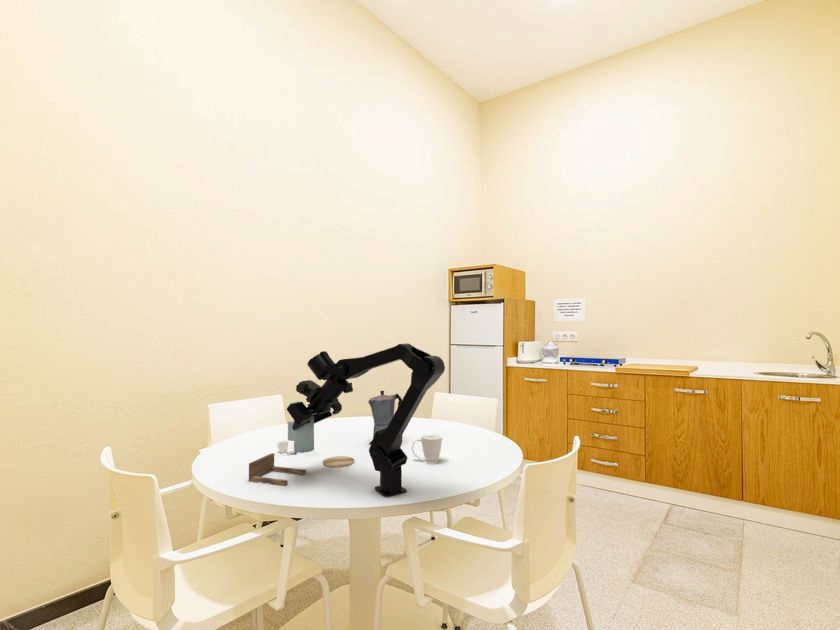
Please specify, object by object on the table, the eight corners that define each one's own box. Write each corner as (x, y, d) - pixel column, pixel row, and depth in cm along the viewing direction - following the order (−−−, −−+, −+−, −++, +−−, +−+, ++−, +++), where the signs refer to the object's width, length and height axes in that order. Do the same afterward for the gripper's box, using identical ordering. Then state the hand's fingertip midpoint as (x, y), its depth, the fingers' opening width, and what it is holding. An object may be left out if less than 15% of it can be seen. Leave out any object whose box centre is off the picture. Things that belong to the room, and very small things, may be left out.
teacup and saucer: (301, 454, 146) (301, 442, 147) (280, 459, 140) (280, 446, 141) (287, 449, 152) (288, 437, 152) (267, 453, 146) (267, 442, 147)
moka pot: (360, 445, 156) (361, 390, 157) (392, 437, 167) (392, 387, 168) (376, 450, 149) (377, 393, 150) (408, 442, 160) (408, 389, 161)
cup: (441, 465, 133) (441, 439, 133) (410, 464, 134) (410, 438, 135) (443, 458, 140) (443, 434, 140) (413, 457, 141) (413, 433, 142)
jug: (318, 448, 127) (318, 416, 127) (304, 453, 121) (304, 420, 122) (295, 445, 131) (295, 414, 131) (282, 450, 125) (282, 418, 126)
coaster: (359, 464, 134) (359, 462, 134) (329, 469, 129) (329, 467, 129) (347, 456, 143) (347, 454, 143) (318, 460, 137) (318, 459, 137)
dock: (305, 473, 125) (306, 456, 125) (285, 485, 115) (285, 467, 116) (271, 469, 129) (271, 453, 129) (248, 481, 119) (249, 463, 119)
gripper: (334, 368, 133) (306, 402, 137) (291, 374, 116) (262, 412, 121) (354, 395, 129) (326, 428, 134) (314, 405, 112) (283, 442, 117)
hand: (300, 427), depth 126 cm, fingers closed on jug, 6 cm apart
